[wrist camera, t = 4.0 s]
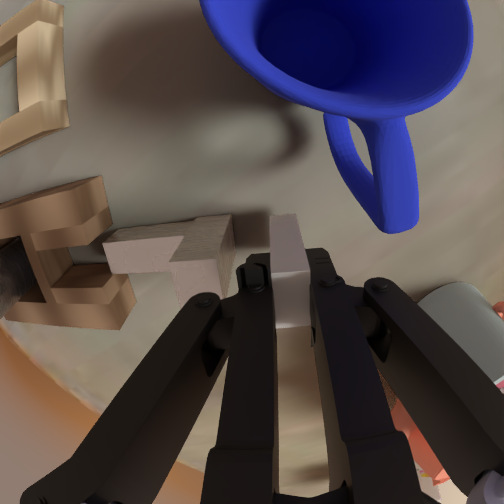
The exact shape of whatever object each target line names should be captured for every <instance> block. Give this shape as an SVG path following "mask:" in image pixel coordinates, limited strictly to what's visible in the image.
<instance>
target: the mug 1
mask: <svg viewBox="0 0 504 504" xmlns="http://www.w3.org/2000/svg"><path fill="white" fill-rule="evenodd" d="M199 1H200V5H201V8H202V12H203V15H204V17H205V19H206V22H207V24H208V26H209V28H210V30H211V31H212V33H213V35H214V36H215V38H216V39H217V41H218V42H219V44H220V45H221V46H222V48H223V49H224V50H225V51H226V52H227V54H228V55H229V56H230V57H231V58H232V59H233V60H234V61H235V62H236V63H237V64H238V65H239V66H240V67H241V68H243V69H244V70H245V71H246V72H247V73H249V74H250V75H251V76H252V77H254V78H255V79H256V80H257V81H258V82H260V83H261V84H262V85H263V86H265V87H266V88H267V89H268V90H270V91H271V92H272V93H274V94H276V95H277V96H279V97H281V98H283V99H285V100H288V101H290V102H293V103H297V104H300V105H303V106H306V107H309V108H312V109H315V110H319V111H322V112H324V114H323V118H324V125H325V130H326V135H327V139H328V142H329V146H330V150H331V153H332V156H333V158H334V161H335V164H336V166H337V168H338V170H339V172H340V174H341V176H342V178H343V180H344V182H345V183H346V185H347V186H348V188H349V189H350V191H351V192H352V194H353V195H354V197H355V198H356V200H357V201H358V202H359V203H360V205H361V206H362V207H363V209H364V210H365V211H366V213H367V214H368V215H369V217H370V218H371V220H372V221H373V222H374V224H375V225H376V226H377V227H378V229H379V230H381V231H382V232H384V233H387V234H394V233H400V232H403V231H406V230H409V229H411V228H413V227H414V226H415V225H416V224H417V222H418V219H419V193H418V182H417V173H416V166H415V159H414V152H413V148H412V144H411V140H410V136H409V133H408V130H407V127H406V123H405V117H406V116H407V115H411V114H415V113H417V112H420V111H423V110H425V109H427V108H429V107H431V106H433V105H435V104H436V103H438V102H440V101H441V100H442V99H443V98H444V97H446V96H447V95H448V94H449V93H450V92H451V91H452V90H453V89H454V88H455V87H456V86H457V84H458V83H459V82H460V80H461V79H462V77H463V75H464V73H465V71H466V69H467V67H468V64H469V61H470V58H471V54H472V48H473V23H472V17H471V12H470V9H469V5H468V2H467V0H199ZM347 118H349V119H350V120H351V121H353V122H354V123H356V124H357V126H358V127H359V128H360V129H361V131H362V133H363V135H364V137H365V140H366V143H367V146H368V151H369V155H370V160H371V165H372V171H373V175H372V174H371V173H370V172H369V171H368V170H367V168H366V167H365V166H364V164H363V163H362V161H361V159H360V157H359V155H358V154H357V151H356V149H355V146H354V143H353V140H352V137H351V133H350V130H349V125H348V120H347Z"/></svg>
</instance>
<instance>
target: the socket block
mask: <svg viewBox="0 0 504 504" xmlns="http://www.w3.org/2000/svg"><path fill="white" fill-rule="evenodd" d="M112 224H113V222H112V219H111V215H110V210H109V206H108V202H107V198H106V193H105V189H104V184H103V180H102V175H101V176H97V177H93V178H88V179H84V180H80V181H76V182H72V183H68V184H65V185H61V186H57V187H53V188H50V189H46V190H43V191H39V192H36V193H33V194H29V195H26V196H23V197H20V198H17V199H14V200H11V201H8V202H5V203H2V204H0V250H2V249H3V248H4V247H6V246H7V245H9V244H10V243H11V242H13V241H14V239H13V237H14V236H21V239H22V242H23V245H24V248H25V250H26V253H27V256H28V259H29V261H30V264H31V267H32V269H33V272H34V274H35V277H36V279H37V283H36V284H35V285H34V286H33V287H31V288H30V289H29V290H28V291H27V292H26V293H25V294H24V295H23V296H22V297H21V298H20V299H19V300H18V301H17V302H16V303H15V304H14V305H13V306H12V307H11V309H10V310H9V311H8V312H7V313H6V314H5V315H4V317H5V318H6V320H10V321H18V322H26V323H34V324H43V325H54V326H65V327H77V328H91V329H108V330H120V329H121V327H122V325H123V324H124V322H125V320H126V318H127V317H128V315H129V313H130V312H131V310H132V308H133V307H134V305H135V304H136V302H137V301H136V299H135V296H134V293H133V290H132V287H131V284H130V281H129V278H128V275H127V273H125V274H112V272H111V269H110V266H109V263H103V264H89V265H73V262H72V259H71V257H70V254H69V251H68V248H67V247H73V246H82V245H88V244H90V243H91V242H92V241H93V240H94V239H95V238H97V237H98V236H99V235H100V234H101V233H102V232H104V231H105V230H106V229H107V228H108V227H110V226H111V225H112Z"/></svg>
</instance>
